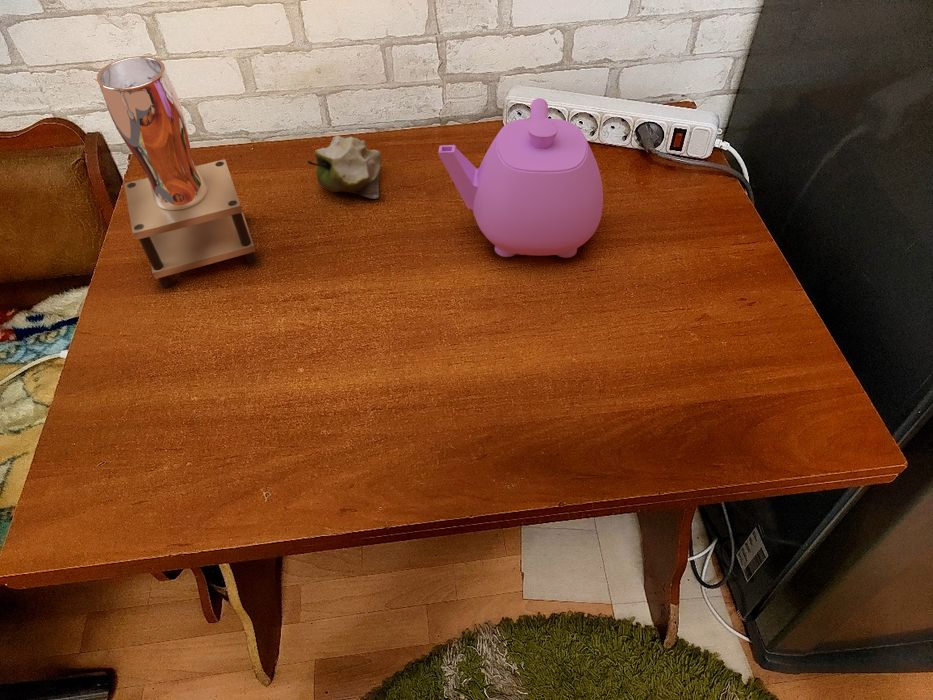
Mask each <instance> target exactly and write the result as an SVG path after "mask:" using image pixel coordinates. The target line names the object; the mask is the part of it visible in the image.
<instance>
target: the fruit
mask: <svg viewBox="0 0 933 700" xmlns="http://www.w3.org/2000/svg"><path fill="white" fill-rule="evenodd" d="M314 155H315V158H316V163H315V162H313V161H311V160H307V164H308V165H313V166H316V169H315V174H316V180H317V182H318V184H319V185H321V186H322V187H323V188H325V189H326V190H327V191H329V192H332V193H338V194H339V193H340V192H345V193H352V194H353V193H354V194H356V195H360V196H361V197H365V198H368V199H371V200H378V199H379V197H380V188H379V187H380V174H381V169H382V153H381V151H379V150H378V149H369V148H368V147H367V142H366V140H363V139H361V140H360V139H359V138H357V137H353V136H349V137H342V136H340V135H335V136H333V137H332V140H331V142H330V145H328V147H321V148H318V149H315V150H314Z"/></svg>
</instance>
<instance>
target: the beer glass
mask: <svg viewBox="0 0 933 700" xmlns="http://www.w3.org/2000/svg"><path fill="white" fill-rule="evenodd" d="M167 71H168V70H167V69H166V66H165V63H164V62H163V61H161V60H160V59H158V58H157V57H152V56H144V55H143V56H142V55H141V56H140V55H139V56H130V57H125V58H121V59H118V60H115V61H113V62H111V63H109V64H107V65H106V66H104V67H103V68H101V69H100V71H98V73H97V75H96V82H97V84H98V86H99V88H100V91H101V94H102V97H103V100H104V103H105V105H106V106H105V107H106V108H107V111H108V113H109V115H110V118H111V120H112V122H113V124H114V126H115V128H116V130H117V133H118V134H119V135H120V137H121V138H122V140H123V142H124V143H125V145H126V146H127V147H128V149H129V150H130V152H131V153H132V155H133V156H134V158H135V159H136V160H137V162H138V164H139V166H141V168H142V170H143V171H144V173H145V175H146V178H148V180H149V183H150V187H151V192H152V196H153V200H154V202H155V203H156V205H157V206H159V207H160V208H163V209H166V210H182V209H186V208H189V207H192V206H194V205H196V204H197V203H199V202H200V201H201V200H202V199H203V198H204V197H205V195H206V193H207V185H206V183H205V181H204V180H203V178H202V177H201V175H200V173H199V172H198V170H197V168H196V166H197V165H196V164H195V162H194V157H193V154H192V149H191V143H190V137H189V131H188V126H187V125H188V124H187V120H186V117H185V112H184V110H183V106H182V104H181V100H180V99H179V96H178V94H177V91H176V88H175V86H174V84H173V82H172V79H171V77H170V76H169V73H168V72H167Z"/></svg>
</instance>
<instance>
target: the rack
mask: <svg viewBox="0 0 933 700" xmlns="http://www.w3.org/2000/svg"><path fill="white" fill-rule="evenodd" d="M195 166H196V168H197V170H198V172H199V173H200V175H201V177H202V178H203V180H204V181H205V183H206V185H207V193H206V195H205V197H204V198H203V199H202V200H201V201H200V202H199V203H197V204H196V205H194V206H192V207H189V208H186V209H182V210H166V209H163V208H160V207H159V206H157V205H156V203H155V202H154V200H153V196H152V192H151V187H150V183H149V180H148V177H146V178H140V179H136V180H132V181H129V182H124V183H123V186H124V191H125V197H126V203H127V209H128V216H129V222H130V227H131V234H132V236H133V238H134V240H135V241H139V243H140V245H141V247H142V249H143V251H144V254H145V255H146V257H147V260H148V261H149V263H150V269H151V273H152V275H153V278H154V279H155V280H157V279H158V282H159V283H160V285H161V288H163V289H170V288H171V287H172V286H173V282H172V280H171V278H170V276H172V275H175V274H179V273H183V272H187V271H190V270H193V269H197V268H201V267H205V266H207V265H212V264H215V263H218V262H222V261H226V260H230V259H233V258H238V257H240V256H245V259H246V262H247V264H249V265H254V264H256V263H257V262H258V258H257V255H256V252H257V250H256V247H255V244H254V240H253V237H252V235H251V232H250V229H249V226H248V223H247V221H246V217H245V214H244V211H243V208H242V205H241V201H240V199H239V196H238V193H237V190H236V187H235V184H234V181H233V178H232V175H231V172H230V170H229V166H228V163H227V161H226V159H225V158H224V159H220V160H215V161H211V162H207V163H204V164H203V163H202V164H200V165H195Z"/></svg>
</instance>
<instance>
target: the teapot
mask: <svg viewBox="0 0 933 700" xmlns="http://www.w3.org/2000/svg"><path fill="white" fill-rule="evenodd" d="M529 113H530V114H529V118H520V119H515V120H512V121H510V122H508V123H506V124H504V125H503V126H502V127H501V129H499V131H498V133H497V134H496V136H495V138H493V141H492V142H491V144H490V146H489V147H488V149H487V151H486V153H485V155H484V157H483V158H482V160H481V163H480V165H479V167H478V168H477V167H476V166H475V165H473V163H472V162H471V161H470V160H469V159H468V158H467V157H466V156H465V155H464V154H463V153H462V152H461V151H460V150H459V149H458V148H457V147H456V144H441V145H439V147H438V152H437V155H438V157H439V159H440V161H441V162H442V165H443V166H444V168H445V170H446V172H447V173H448V175H449V177H450V179H451V181H452V183H453V184H454V187H455V188H456V190H457V192H458V194H459V195H460V197H461V199H462V201H463V203H464V205H465V206H466V208H467V209H468V210H472V213H473V216H474V219H475V222H476V224H477V226H478V228H479V230H480V231H481V232H482V234H483V235H484V236H485V238H486V239H487V240H488V241H489V242H490V243H491V244H492V245H494V252H495V253H496V254H497V255H498V256H500V257H504V258H509V257H513V256H515V255H522V256H557V257H560V258H565V259H566V258H572V257H574V256H575V255H577V252H578V248H581V246H583V245H584V244H586V242H588V241H589V240H590V239H591V238H592V237H593V236H594V234H595V232H596V231H597V229H598V227H599V225H600V222H601V220H602V217H603V208H604V192H603V191H604V190H603V181H602V176H601V172H600V169H599V165H598V163H597V160H596V158H595V156H594V152H593V150H592V148H591V146H590V144H589V142H588V139H587V138H586V136H585V134H584V132H583V131H582V130H581V129H580V127H578V126H577V125H575V124H574V123H573V122H571V121H568V120H564V119H559V118H549V104H548V102H547V101H546V99H544V98H540V97H538V98H535V99H533V100H532V102H531V104H530V112H529Z"/></svg>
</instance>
